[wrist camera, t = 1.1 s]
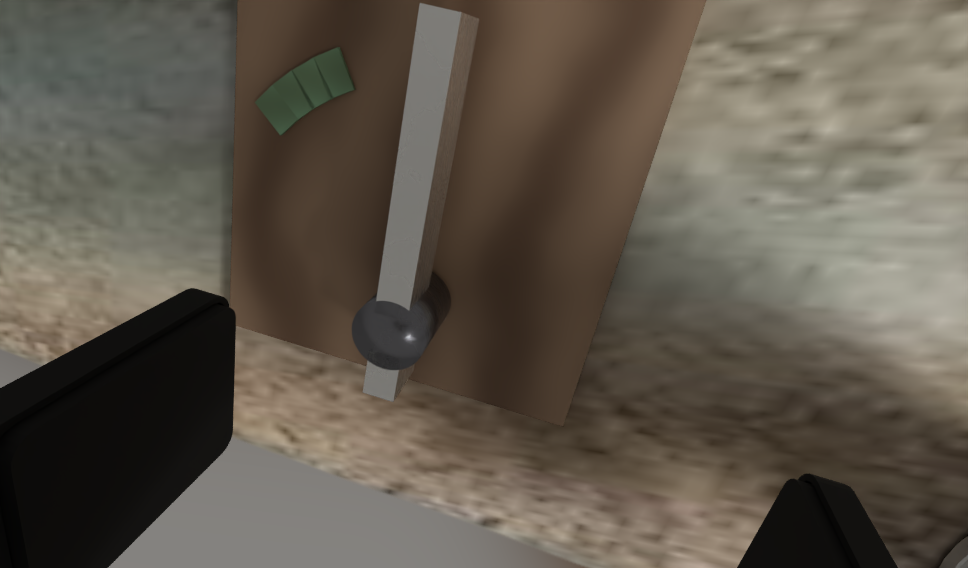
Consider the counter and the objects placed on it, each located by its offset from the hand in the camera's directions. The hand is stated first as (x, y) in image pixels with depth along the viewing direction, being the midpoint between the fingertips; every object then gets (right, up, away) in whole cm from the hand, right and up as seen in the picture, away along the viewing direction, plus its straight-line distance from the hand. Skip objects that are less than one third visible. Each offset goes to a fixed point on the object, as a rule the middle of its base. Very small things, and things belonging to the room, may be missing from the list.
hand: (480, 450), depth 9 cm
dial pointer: (-2, +7, +19) cm, 20 cm away
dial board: (-3, +8, +20) cm, 22 cm away
